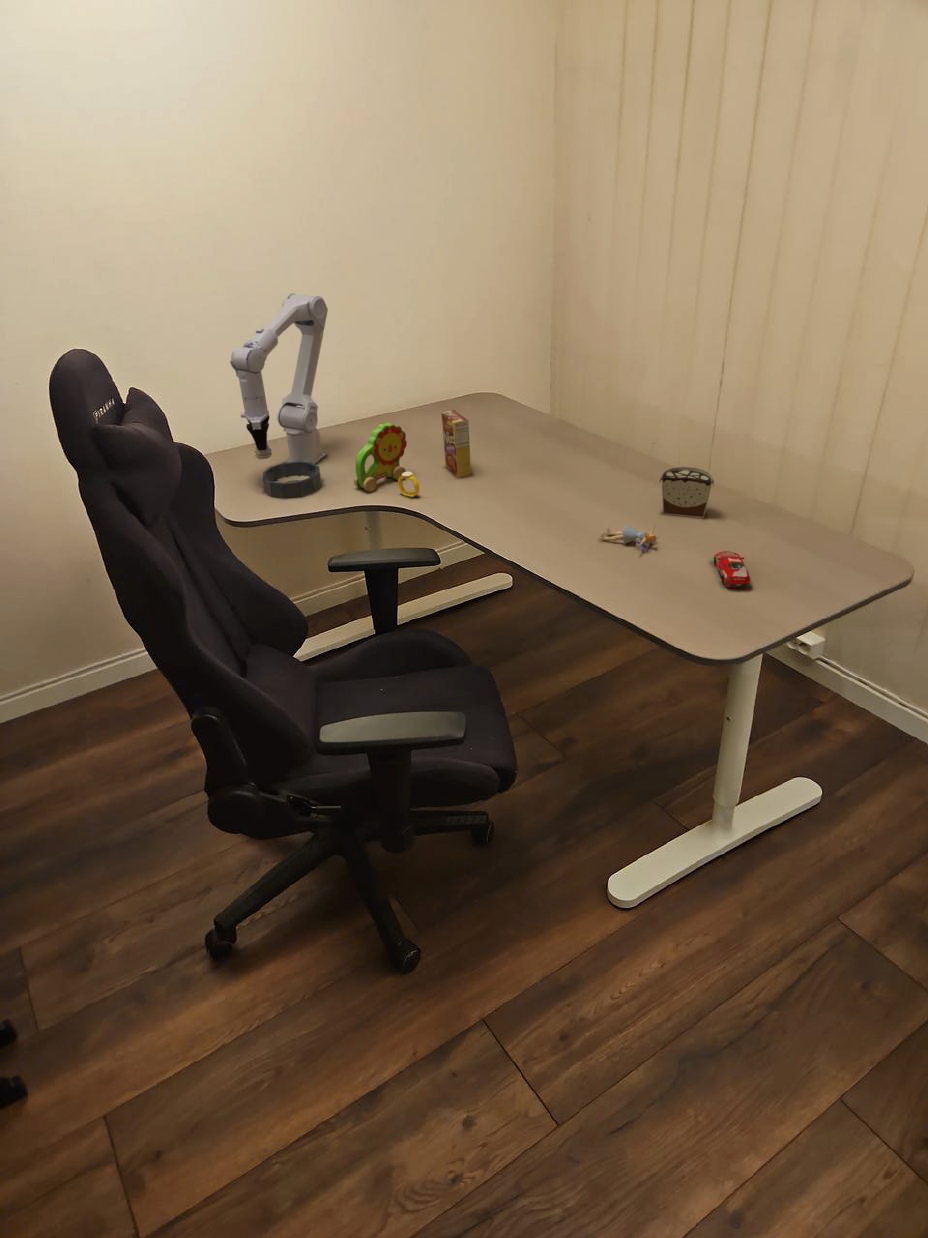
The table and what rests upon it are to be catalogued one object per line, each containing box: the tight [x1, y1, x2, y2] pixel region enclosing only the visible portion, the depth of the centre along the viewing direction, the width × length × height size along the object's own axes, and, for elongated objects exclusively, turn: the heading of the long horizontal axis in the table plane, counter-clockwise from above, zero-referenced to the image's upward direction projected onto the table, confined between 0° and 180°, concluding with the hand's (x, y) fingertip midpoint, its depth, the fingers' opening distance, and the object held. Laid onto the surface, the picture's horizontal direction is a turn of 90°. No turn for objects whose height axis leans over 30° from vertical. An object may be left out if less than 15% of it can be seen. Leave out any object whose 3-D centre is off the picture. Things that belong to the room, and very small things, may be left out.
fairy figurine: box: [600, 524, 657, 553], centre depth 195 cm, size 12×5×12 cm
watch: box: [397, 471, 420, 498], centre depth 221 cm, size 6×3×6 cm, turn 53°
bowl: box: [261, 461, 322, 499], centre depth 230 cm, size 15×15×4 cm
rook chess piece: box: [254, 443, 273, 460], centre depth 229 cm, size 4×4×8 cm
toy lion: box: [353, 422, 408, 493], centre depth 227 cm, size 16×6×15 cm, turn 135°
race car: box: [713, 550, 751, 588], centre depth 181 cm, size 13×5×4 cm, turn 177°
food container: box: [659, 466, 715, 519], centre depth 206 cm, size 12×6×10 cm, turn 71°
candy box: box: [441, 409, 472, 479], centre depth 231 cm, size 9×4×15 cm, turn 23°
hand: (262, 446), depth 230 cm, fingers closed on rook chess piece, 3 cm apart
